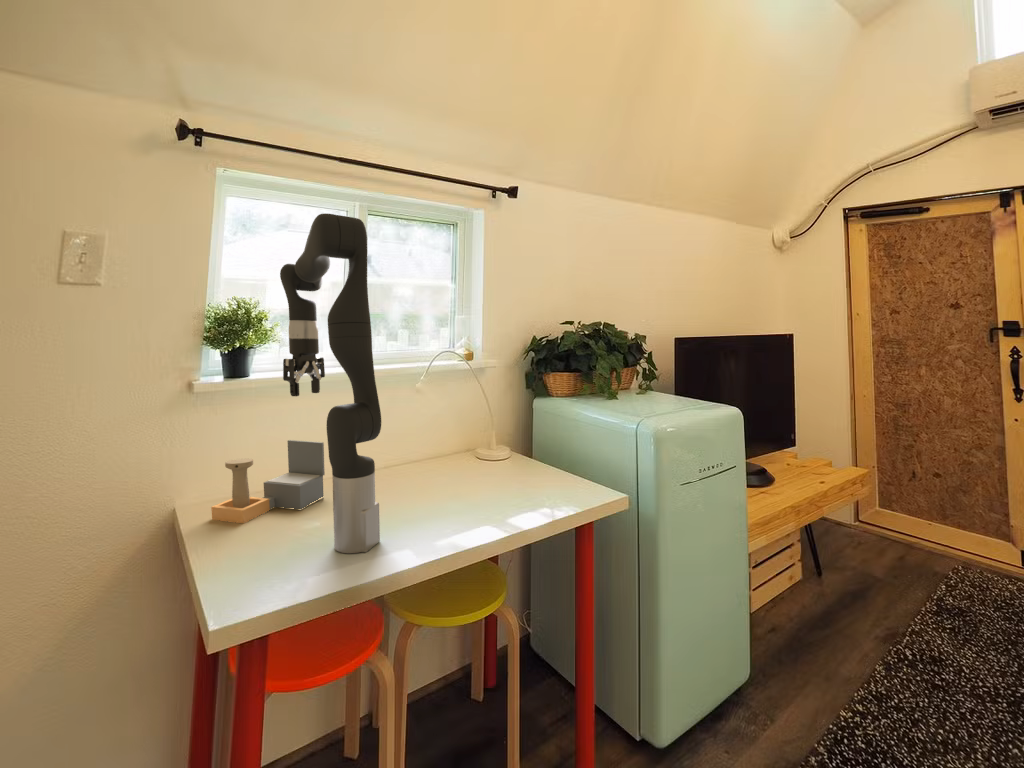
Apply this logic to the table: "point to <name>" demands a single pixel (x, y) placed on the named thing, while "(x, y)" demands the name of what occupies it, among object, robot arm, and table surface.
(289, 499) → the chair with orange tray
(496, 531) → the table surface
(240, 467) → the handle
